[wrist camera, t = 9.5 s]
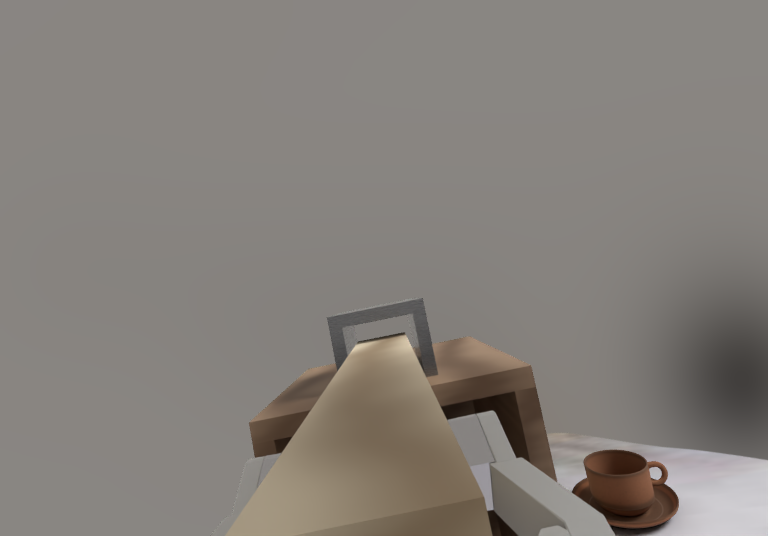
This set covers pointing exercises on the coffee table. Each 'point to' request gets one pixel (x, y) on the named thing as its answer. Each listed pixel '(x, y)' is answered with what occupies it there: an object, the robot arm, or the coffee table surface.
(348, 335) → the metal tunnel
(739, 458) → the coffee table surface
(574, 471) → the coffee table surface
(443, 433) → the beech bar
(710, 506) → the coffee table surface
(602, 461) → the cup and saucer
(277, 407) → the brown tall wooden box
